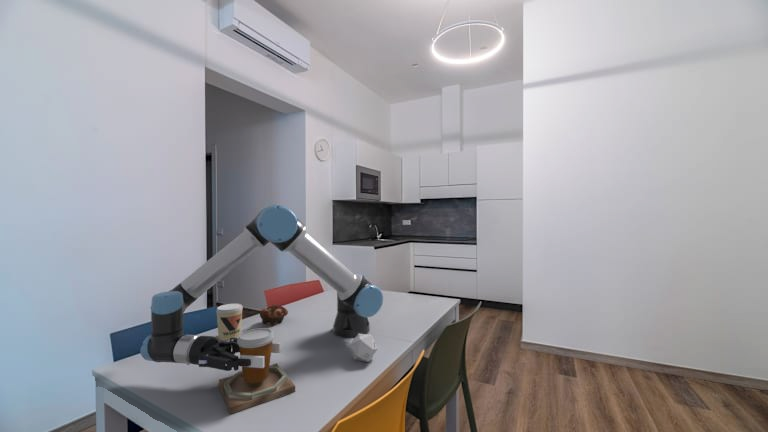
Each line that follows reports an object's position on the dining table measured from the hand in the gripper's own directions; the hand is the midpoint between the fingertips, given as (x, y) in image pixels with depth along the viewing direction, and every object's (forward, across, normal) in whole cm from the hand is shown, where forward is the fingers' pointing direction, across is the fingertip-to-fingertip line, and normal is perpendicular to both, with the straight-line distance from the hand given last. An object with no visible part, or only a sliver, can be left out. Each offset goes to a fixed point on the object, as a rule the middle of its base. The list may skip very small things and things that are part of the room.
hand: (272, 354), depth 83 cm
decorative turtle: (-27, -50, -10) cm, 58 cm away
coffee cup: (-36, -32, -10) cm, 49 cm away
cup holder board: (-5, 0, -10) cm, 11 cm away
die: (+21, -21, -10) cm, 31 cm away
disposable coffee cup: (-5, 0, -7) cm, 8 cm away
